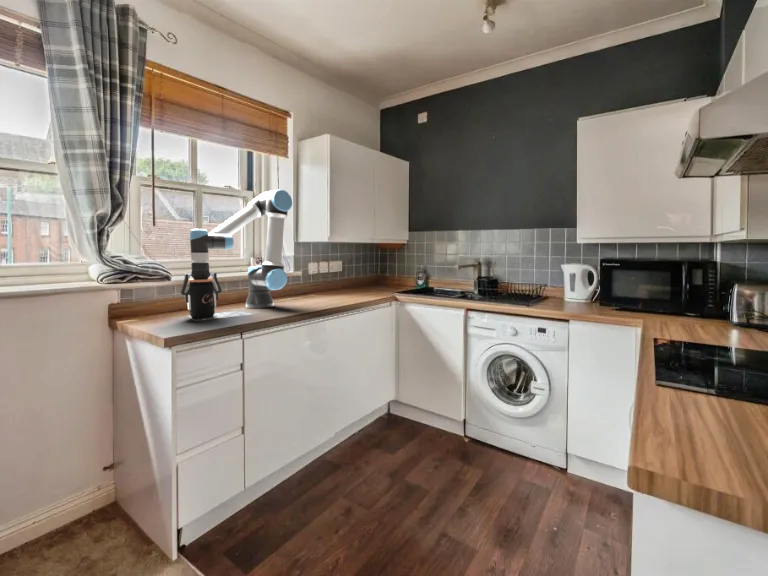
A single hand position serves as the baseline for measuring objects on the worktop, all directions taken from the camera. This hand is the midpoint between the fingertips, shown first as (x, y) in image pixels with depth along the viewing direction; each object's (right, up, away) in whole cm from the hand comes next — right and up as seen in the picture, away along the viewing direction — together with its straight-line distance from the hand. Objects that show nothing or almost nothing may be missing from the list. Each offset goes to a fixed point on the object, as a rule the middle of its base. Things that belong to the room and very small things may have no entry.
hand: (202, 308), depth 185 cm
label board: (+6, -4, +5) cm, 9 cm away
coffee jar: (0, -4, 0) cm, 4 cm away
